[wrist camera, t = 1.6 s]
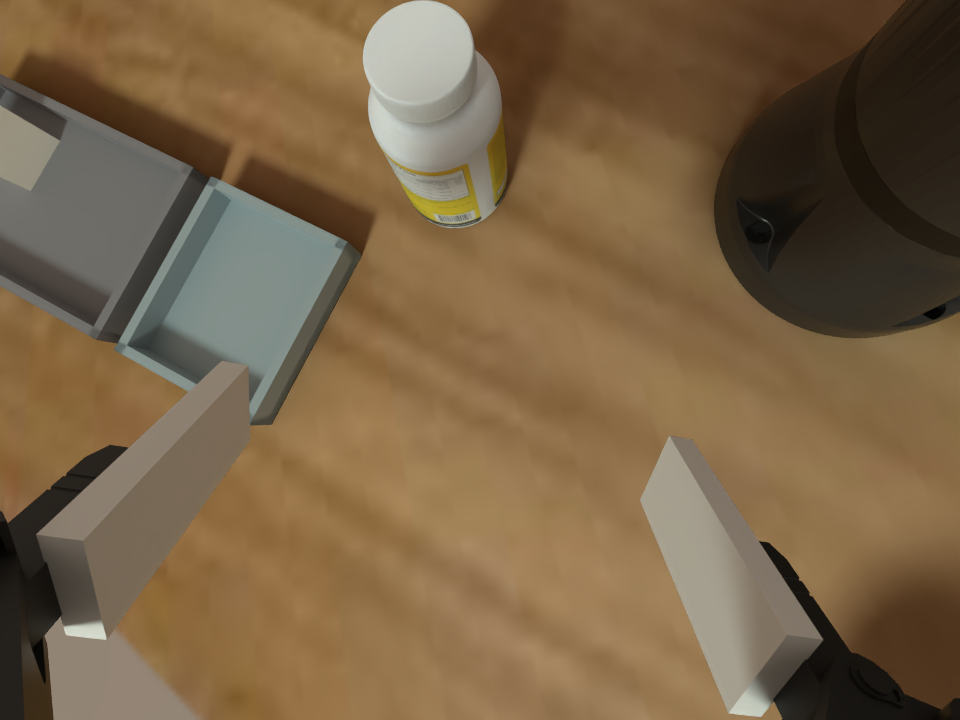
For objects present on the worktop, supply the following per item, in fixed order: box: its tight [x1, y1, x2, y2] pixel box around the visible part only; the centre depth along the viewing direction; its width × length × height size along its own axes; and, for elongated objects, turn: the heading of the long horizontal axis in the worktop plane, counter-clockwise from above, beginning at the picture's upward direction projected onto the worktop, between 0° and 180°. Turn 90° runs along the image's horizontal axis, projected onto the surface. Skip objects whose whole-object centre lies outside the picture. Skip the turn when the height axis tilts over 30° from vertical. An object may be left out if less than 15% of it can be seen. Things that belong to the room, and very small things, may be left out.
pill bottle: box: [363, 0, 508, 228], centre depth 25 cm, size 6×6×12 cm
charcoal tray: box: [0, 74, 209, 343], centre depth 32 cm, size 12×18×2 cm
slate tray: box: [114, 176, 362, 425], centre depth 30 cm, size 12×10×2 cm
